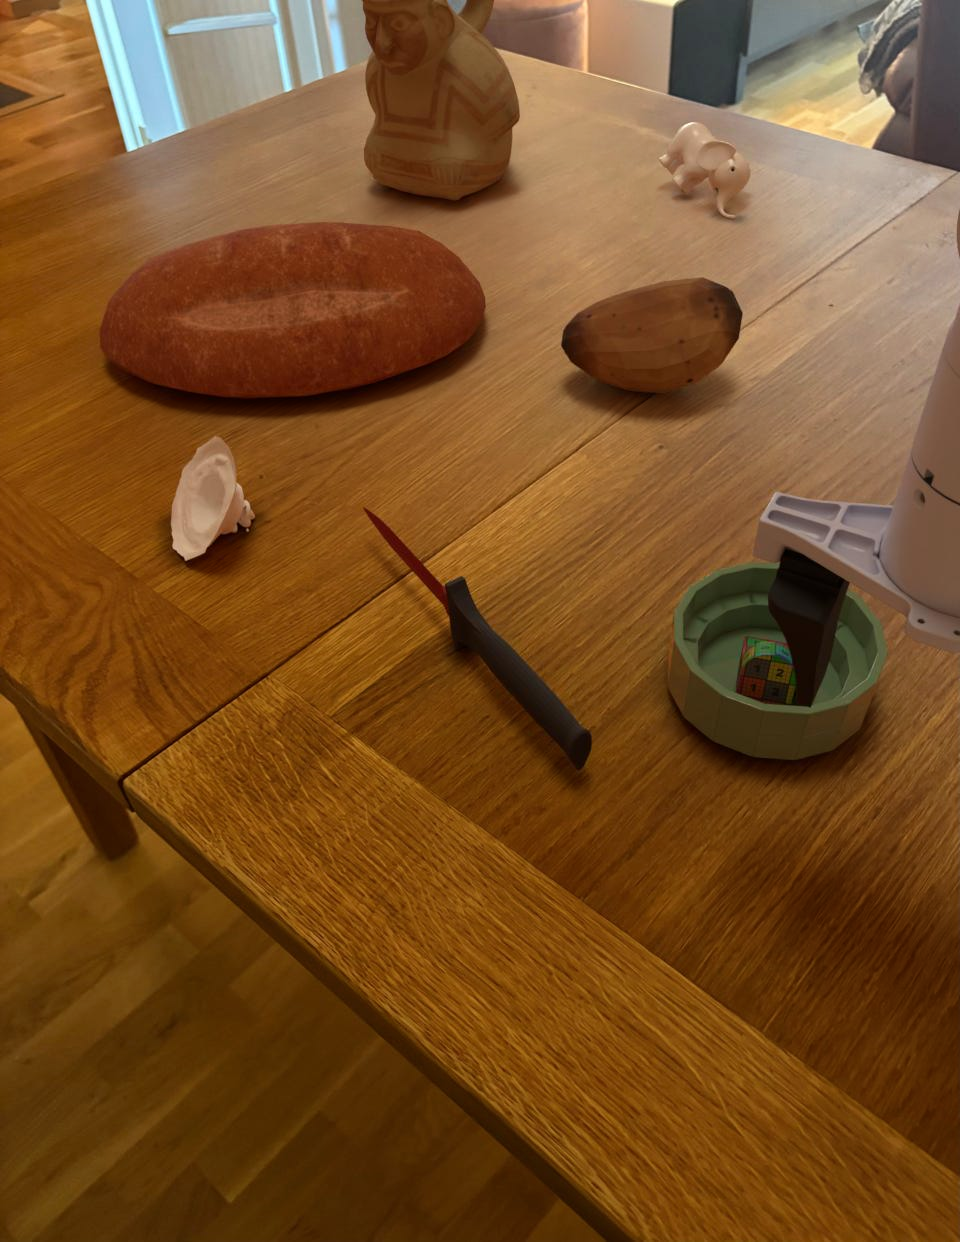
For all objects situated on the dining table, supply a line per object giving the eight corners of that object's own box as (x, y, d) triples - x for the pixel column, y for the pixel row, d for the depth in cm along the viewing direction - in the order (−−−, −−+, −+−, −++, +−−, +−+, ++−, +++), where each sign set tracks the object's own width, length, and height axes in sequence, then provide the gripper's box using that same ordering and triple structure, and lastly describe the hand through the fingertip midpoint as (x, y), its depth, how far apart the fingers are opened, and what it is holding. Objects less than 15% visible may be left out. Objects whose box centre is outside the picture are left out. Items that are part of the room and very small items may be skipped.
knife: (592, 771, 55) (596, 712, 51) (570, 784, 54) (572, 725, 50) (376, 531, 69) (367, 472, 65) (357, 540, 68) (347, 480, 65)
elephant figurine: (698, 222, 96) (754, 172, 93) (638, 136, 101) (689, 85, 98) (727, 250, 102) (781, 204, 100) (670, 167, 107) (719, 120, 104)
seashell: (246, 577, 72) (275, 544, 65) (168, 573, 70) (190, 539, 63) (245, 469, 74) (273, 426, 66) (169, 461, 71) (189, 416, 64)
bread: (506, 389, 80) (503, 283, 74) (91, 437, 78) (51, 332, 71) (468, 255, 96) (463, 158, 89) (121, 292, 93) (91, 195, 87)
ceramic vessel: (327, 197, 106) (284, -93, 88) (433, 130, 117) (413, -140, 99) (467, 231, 99) (451, -75, 81) (564, 156, 110) (569, -127, 92)
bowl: (889, 656, 59) (909, 600, 56) (833, 797, 53) (852, 743, 50) (708, 594, 63) (717, 540, 60) (635, 718, 57) (641, 665, 54)
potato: (580, 428, 81) (563, 335, 83) (752, 388, 79) (731, 292, 80) (566, 395, 74) (548, 293, 75) (756, 349, 71) (733, 245, 73)
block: (813, 722, 53) (828, 664, 51) (733, 707, 54) (745, 649, 52) (812, 670, 58) (825, 616, 57) (739, 656, 59) (750, 603, 57)
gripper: (748, 471, 34) (702, 724, 44) (1246, 613, 29) (1068, 866, 39) (813, 366, 38) (757, 619, 48) (1258, 474, 33) (1094, 734, 43)
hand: (898, 721), depth 44 cm, fingers open, 7 cm apart
